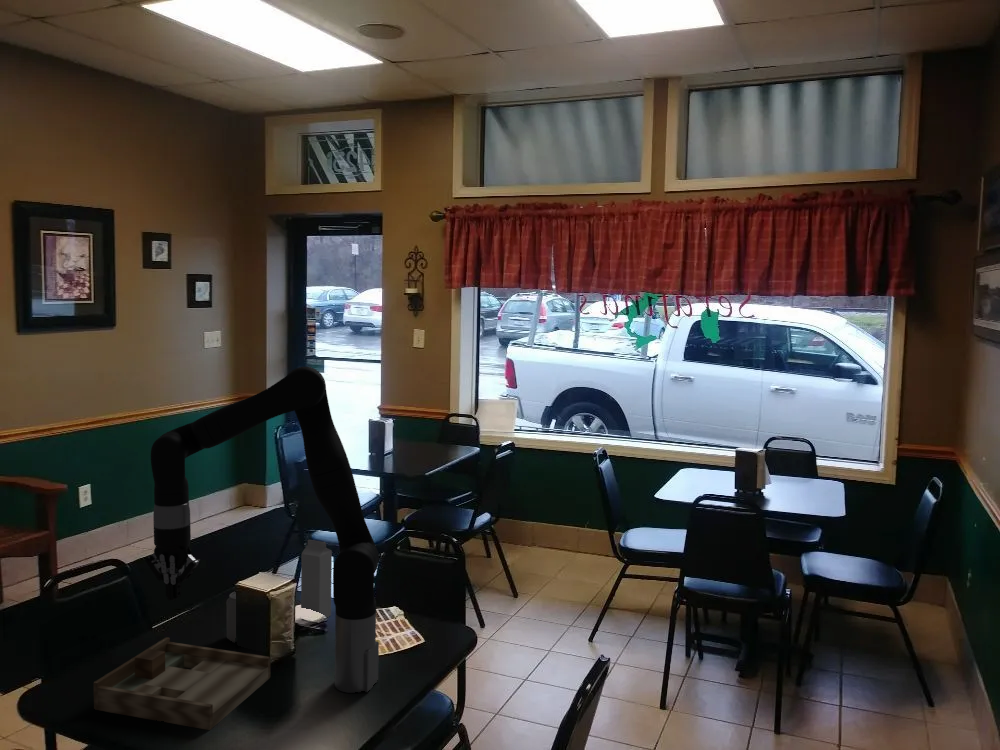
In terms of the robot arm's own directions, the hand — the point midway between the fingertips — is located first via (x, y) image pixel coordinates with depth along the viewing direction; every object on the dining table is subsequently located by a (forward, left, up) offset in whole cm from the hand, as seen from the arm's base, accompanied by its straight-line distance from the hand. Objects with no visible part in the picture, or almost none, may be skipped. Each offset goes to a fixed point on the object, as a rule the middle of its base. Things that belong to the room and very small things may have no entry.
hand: (173, 598), depth 178 cm
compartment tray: (-3, 0, -21) cm, 22 cm away
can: (+1, -29, -22) cm, 36 cm away
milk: (-11, -47, -22) cm, 53 cm away
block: (+6, 0, -18) cm, 19 cm away
